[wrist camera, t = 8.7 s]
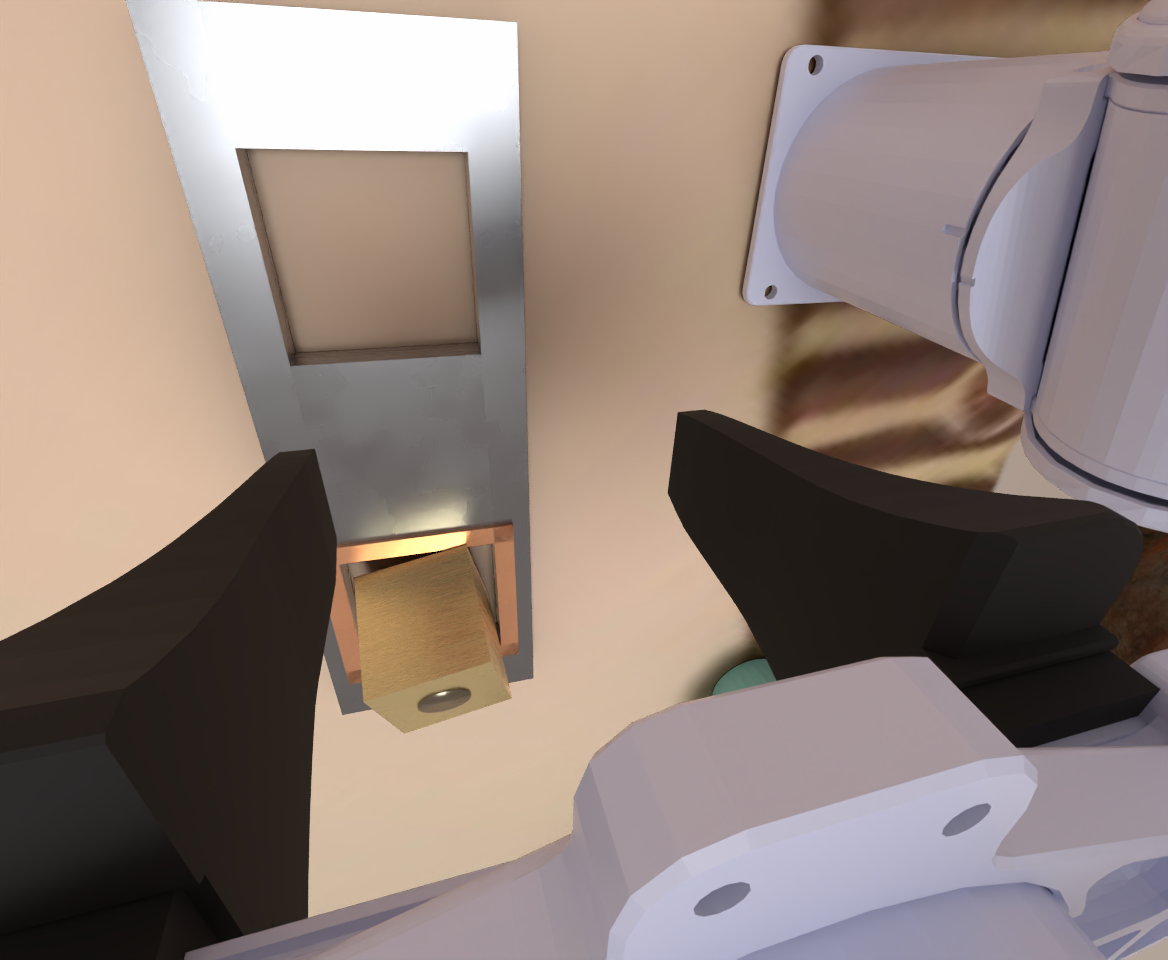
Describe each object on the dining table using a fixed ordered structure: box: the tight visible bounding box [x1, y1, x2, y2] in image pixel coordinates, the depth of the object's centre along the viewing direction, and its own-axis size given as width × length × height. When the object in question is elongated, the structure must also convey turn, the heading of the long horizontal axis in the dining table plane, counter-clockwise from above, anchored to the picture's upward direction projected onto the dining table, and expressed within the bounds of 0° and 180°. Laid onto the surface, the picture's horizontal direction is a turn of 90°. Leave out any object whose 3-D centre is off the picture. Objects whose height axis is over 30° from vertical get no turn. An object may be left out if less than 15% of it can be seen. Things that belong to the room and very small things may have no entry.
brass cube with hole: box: [354, 545, 512, 733], centre depth 24 cm, size 4×4×5 cm
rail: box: [125, 0, 533, 715], centre depth 22 cm, size 9×26×1 cm, turn 178°
